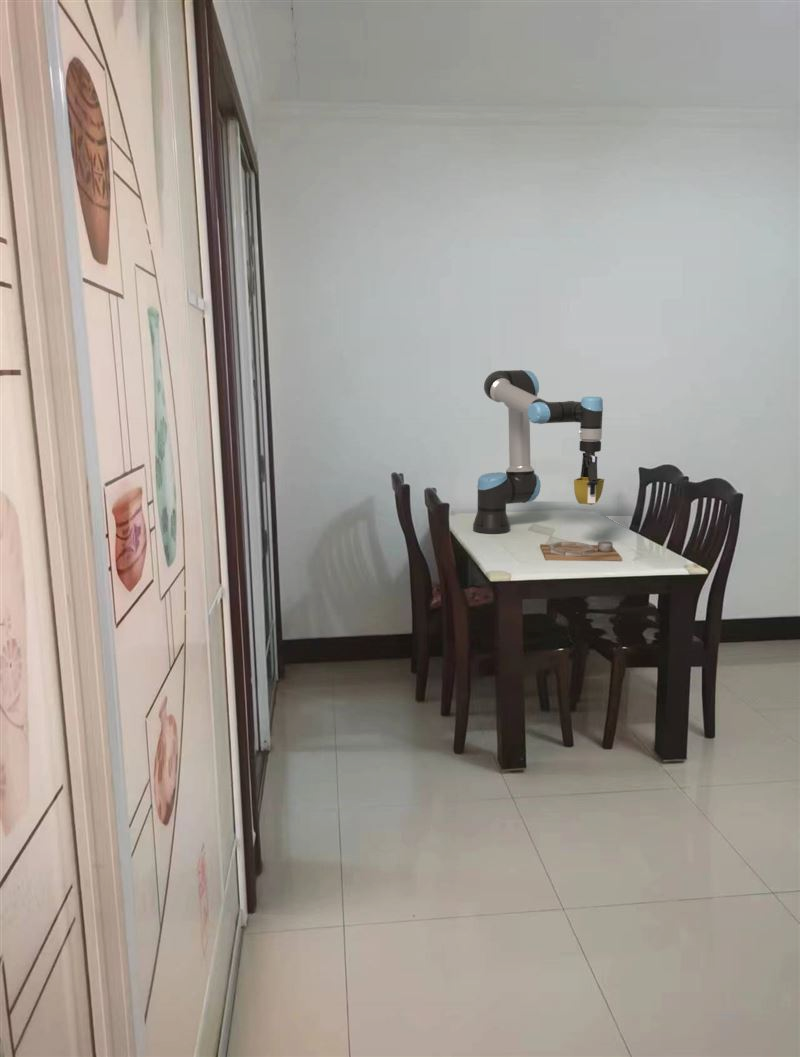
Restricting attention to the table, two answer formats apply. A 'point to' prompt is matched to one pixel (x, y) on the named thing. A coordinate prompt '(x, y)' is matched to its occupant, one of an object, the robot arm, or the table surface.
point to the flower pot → (586, 489)
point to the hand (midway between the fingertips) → (588, 500)
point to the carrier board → (580, 551)
